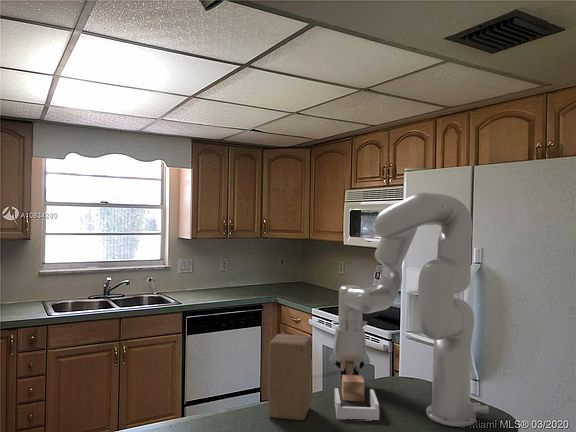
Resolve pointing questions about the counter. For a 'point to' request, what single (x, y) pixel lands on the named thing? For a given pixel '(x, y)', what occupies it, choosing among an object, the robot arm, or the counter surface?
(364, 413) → the white u-shaped bracket
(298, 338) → the wooden block
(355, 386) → the block
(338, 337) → the robot arm
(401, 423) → the counter surface
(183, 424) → the counter surface
